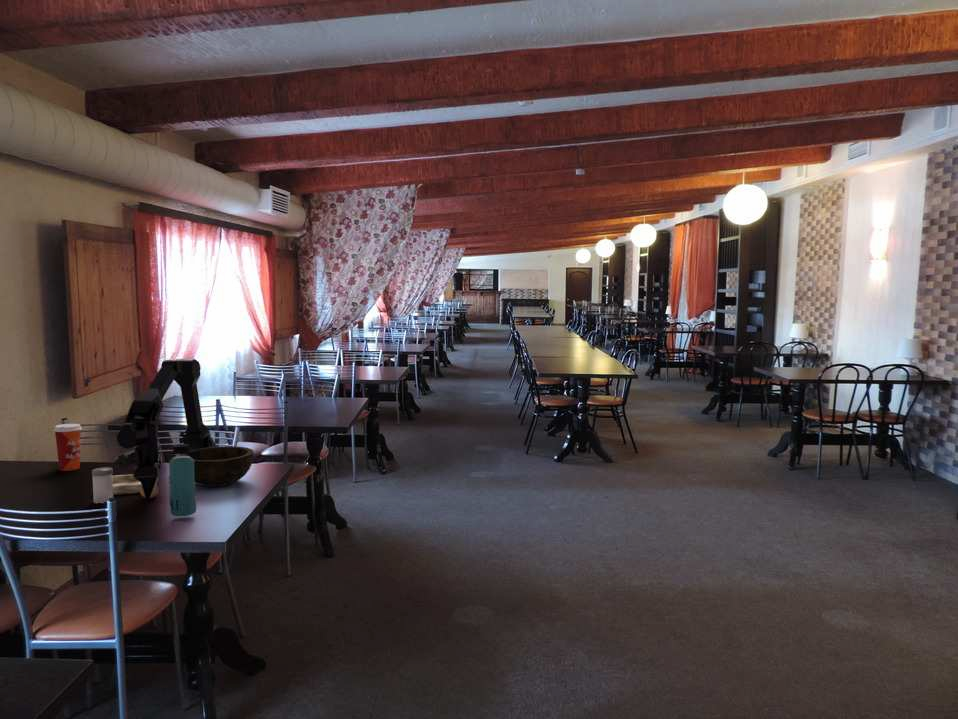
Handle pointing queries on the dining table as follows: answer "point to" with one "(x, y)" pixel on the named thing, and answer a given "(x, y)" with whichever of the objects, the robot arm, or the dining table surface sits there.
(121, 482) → the tray
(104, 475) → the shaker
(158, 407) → the robot arm
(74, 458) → the coffee cup
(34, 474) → the dining table surface
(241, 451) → the bowl
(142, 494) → the ball
